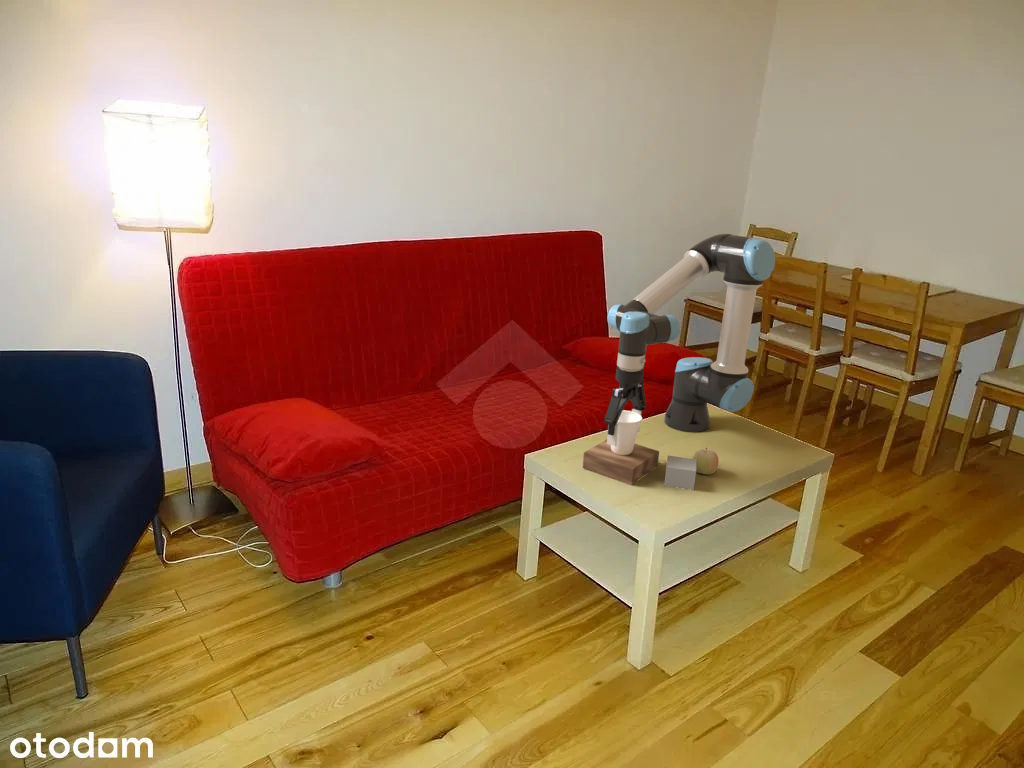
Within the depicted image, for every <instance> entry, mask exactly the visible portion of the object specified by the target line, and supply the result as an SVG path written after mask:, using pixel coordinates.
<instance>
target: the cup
mask: <svg viewBox="0 0 1024 768" xmlns="http://www.w3.org/2000/svg"><path fill="white" fill-rule="evenodd" d="M642 421H643V417H642V414H641V415H639V414H638V413H635V412H632V410H625V409H623V410H622V413H621V415H620V417H619V420H618V422H617V424H618V434H617V445H616V446H612V445H611V450H612V451H613V452H614V453H615V454H618V455H629V454H630V453H632V451H633V447H634V444H636V440H637V436H638V433H639V432H638V430H639V427H641V422H642ZM639 431H640V430H639Z"/></svg>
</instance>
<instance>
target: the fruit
mask: <svg viewBox="0 0 1024 768" xmlns="http://www.w3.org/2000/svg"><path fill="white" fill-rule="evenodd" d="M691 459H696V473H698V474H703V475H711V474H713V473H715V472H716V470H717V468H718V466H719V456H718V454H717V453H716V452H715V451H713V450H711V449H708V448H707V447H705V449H699V450H697V451H695V452H694V454H693V456H692V458H691Z"/></svg>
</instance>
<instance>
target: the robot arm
mask: <svg viewBox="0 0 1024 768" xmlns="http://www.w3.org/2000/svg"><path fill="white" fill-rule="evenodd" d="M775 254H776V253H775V250H774V248H773V246H772V245H771V243H769V241H766V240H764V239H760V238H757V237H750V236H743V235H735V234H730V233H719V234H716V235H713V236H710V237H708V238H706V239H703V240H702V241H700V242H698V243H696V244H695V245H693V246H691V247H690V249H688V250H687V251H686V252H685V253H684V254H683V258H682V259H681V260H679V261H678V262H677V263H676V264H674V266H672V267H671V268H670V269H669V270H667V271H666V272H665V273H663V274H662V275H661V276H660V277H658V278H657V279H656V280H655V281H653V282H652V283H651V284H650V285H648V286H647V287H646V288H645V289H644V290H643V291H641V292H640V293H639V294H638V295H636V296H635V297H634V298H633V299H631V300H630V301H628V303H626V304H622V303H621V304H619V303H618V304H614V305H612V306H611V307H610V309H609V310H608V314H607V317H606V318H607V319H606V320H607V324H608V325H609V326H610V328H612V329H614V330H616V331H619V341H618V352H617V360H616V366H617V367H616V369H615V371H616V372H615V380H616V381H617V382H618V383H619V385H618V388H616V387H615V388H613V389H612V393H611V398H610V401H609V404H608V408H607V411H606V414H605V417H604V419H603V421H604V423H605V424H608V425H607V437H606V439H607V444H609V445H612V446H616V445H617V434H618V424H617V422H618V420H619V417H620V415H621V413H622V410H624V408H625V406H626V405H628V403H629V401H630V402H631V404H632V407H633V408H632V409H631V411H632V412H635V413H638V414H639V415H641V416H642V411H643V412H644V411H646V406H647V400H646V393H645V388H644V387H645V386H644V383H645V382H644V381H645V380H644V372H645V370H644V368H645V363H646V361H647V360H646V354H647V353H646V352H647V346H651V345H657V344H663V343H664V344H665V343H668V342H672V341H674V340H676V339H677V338H679V337H678V336H679V335H680V331H681V325H680V322H679V320H678V318H677V317H676V316H674V315H671V314H663V315H657V314H656V313H657V312H659V311H660V310H661V309H662V308H663V307H664V306H666V305H667V304H668V303H669V302H671V301H672V300H673V299H675V298H676V297H677V296H678V295H679V294H680V293H681V292H683V291H684V290H685V289H686V288H688V287H690V285H691V284H692V283H694V282H696V280H697V279H699V278H704V277H706V276H707V275H709V274H710V273H713V272H720V273H723V283H725V286H727V288H726V296H725V301H724V307H723V308H724V309H723V314H722V315H723V316H722V321H721V327H720V328H721V329H720V333H719V334H720V335H719V341H718V346H717V347H718V349H717V355H716V360H715V361H713V359H711V358H707V357H699V356H698V357H697V356H696V357H695V356H692V357H684V358H683V357H682V358H681V359H679V360H678V361H677V363H676V367H675V370H674V377H673V378H674V379H673V389H672V398H671V401H670V404H669V406H668V408H667V409H666V412H665V414H664V420H663V421H664V423H665V425H666V426H668V427H670V428H672V429H675V430H677V431H682V432H683V431H684V432H689V433H690V432H691V433H695V432H697V433H699V432H704V431H706V430H708V429H709V428H710V424H711V418H710V414H709V413H710V411H709V407H708V404H710V405H712V406H713V407H714V406H715V407H717V408H719V409H720V410H724V411H728V412H733V413H735V412H738V411H741V410H742V409H744V407H745V406H747V404H748V403H749V402H750V401H751V399H752V396H753V394H754V391H755V390H754V388H755V386H754V384H755V383H754V382H753V381H752V379H750V378H748V375H749V368H748V367H747V366H746V357H747V349H748V345H749V340H750V331H751V325H752V320H753V313H754V308H755V301H756V295H757V290H758V289H759V288H760V287H762V286H763V284H764V281H765V280H768V278H769V279H770V277H771V275H772V273H773V271H774V269H775V265H776V255H775ZM640 427H641V426H640ZM640 427H639V430H638V433H639V432H640Z"/></svg>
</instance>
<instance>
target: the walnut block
mask: <svg viewBox="0 0 1024 768" xmlns="http://www.w3.org/2000/svg"><path fill="white" fill-rule="evenodd" d="M659 456H660V450H656V449H653V448H650V447H647V446H644V445H641V444H638V443H635V444H634V447H633V451H632V453H630V454H629V455H618V454H615V453H614V452H613V451H612V450H611V445H609V444H607V438H606V439H604V440H603V441H601V442H600V443H598V444H596V445H595V446H592V447H591V448H590V449H588V450H586V451H584V452H583V461H582V469H583V468H584V470H586V469H587V471H589V472H592V473H595V474H598V475H600V476H604V477H607V478H608V479H609V478H610V479H613V480H615V481H618V482H621V483H624V484H627V485H628V486H629V485H630V486H633V485H634V484H635V483H637V482H638V481H639V479H640V480H641V479H642V478H644V477H645V476H647V475H648V474H649V473H650V472H652V471H654V470H655V469H656V468H658V466H659V465H658V464H659V459H660V457H659ZM646 474H647V475H646Z"/></svg>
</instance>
